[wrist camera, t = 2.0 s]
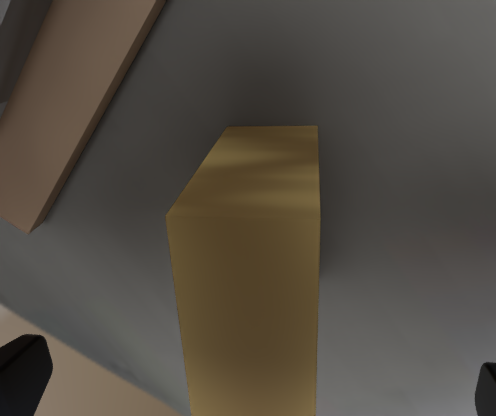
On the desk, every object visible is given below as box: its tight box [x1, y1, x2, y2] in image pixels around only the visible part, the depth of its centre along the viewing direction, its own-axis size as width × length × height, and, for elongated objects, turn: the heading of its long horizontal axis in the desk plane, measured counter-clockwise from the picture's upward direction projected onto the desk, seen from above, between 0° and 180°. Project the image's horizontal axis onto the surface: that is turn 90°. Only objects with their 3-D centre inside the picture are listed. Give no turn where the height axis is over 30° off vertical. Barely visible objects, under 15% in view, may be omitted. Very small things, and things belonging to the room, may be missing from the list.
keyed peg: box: [165, 126, 321, 416], centre depth 13 cm, size 3×6×7 cm, turn 3°
